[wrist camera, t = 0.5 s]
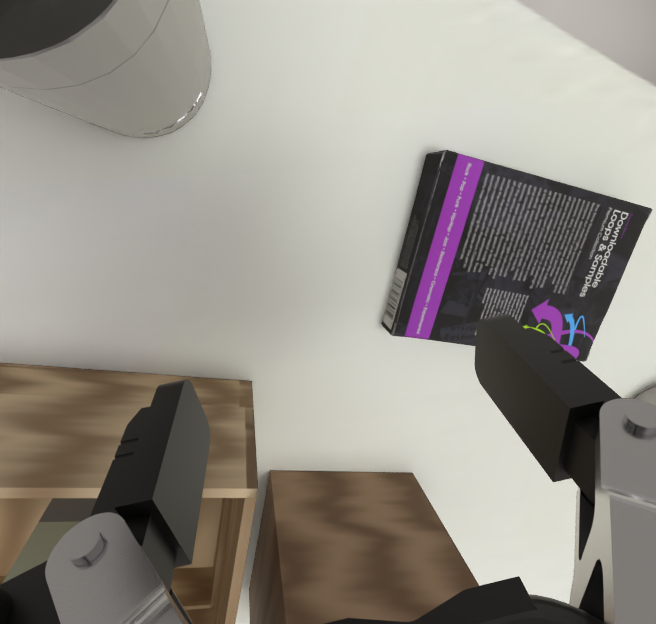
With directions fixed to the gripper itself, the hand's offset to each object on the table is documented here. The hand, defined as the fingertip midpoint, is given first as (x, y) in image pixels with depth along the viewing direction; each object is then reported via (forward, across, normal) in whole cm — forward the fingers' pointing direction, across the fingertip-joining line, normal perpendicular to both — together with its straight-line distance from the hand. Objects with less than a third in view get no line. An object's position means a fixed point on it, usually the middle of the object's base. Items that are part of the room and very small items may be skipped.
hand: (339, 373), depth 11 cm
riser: (+14, +3, +31) cm, 34 cm away
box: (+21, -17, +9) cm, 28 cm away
